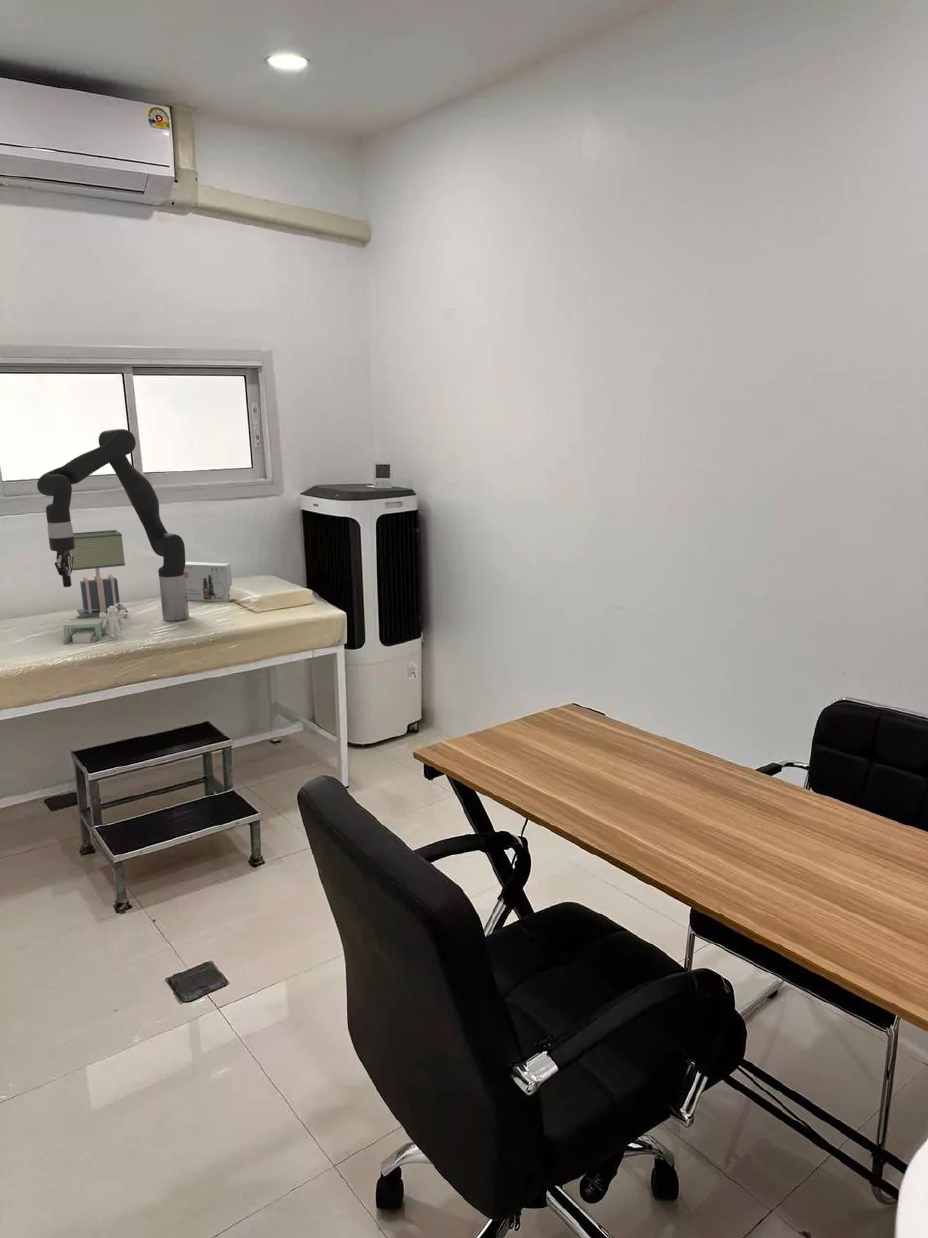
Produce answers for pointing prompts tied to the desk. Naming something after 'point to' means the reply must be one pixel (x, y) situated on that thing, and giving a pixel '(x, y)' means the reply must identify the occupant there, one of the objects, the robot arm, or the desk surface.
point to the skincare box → (207, 581)
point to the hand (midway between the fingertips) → (67, 586)
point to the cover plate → (84, 635)
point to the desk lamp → (96, 554)
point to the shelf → (84, 623)
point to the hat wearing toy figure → (113, 619)
